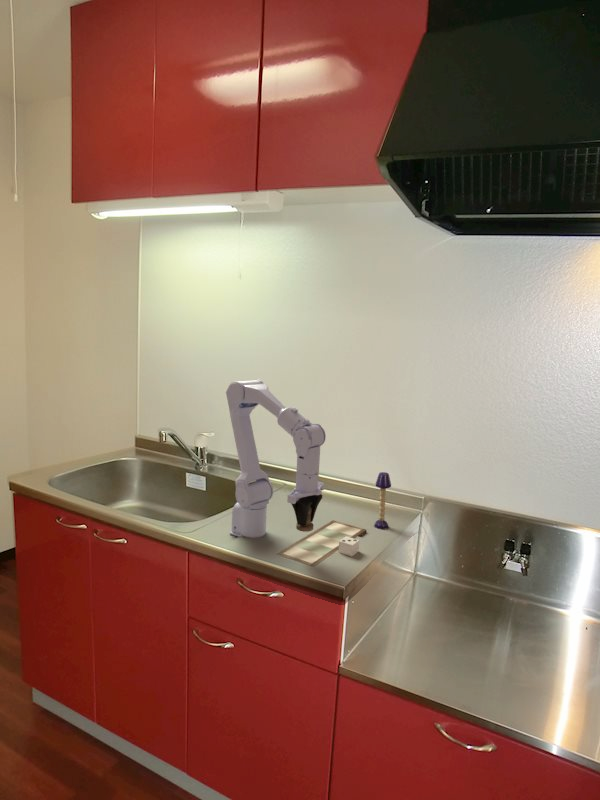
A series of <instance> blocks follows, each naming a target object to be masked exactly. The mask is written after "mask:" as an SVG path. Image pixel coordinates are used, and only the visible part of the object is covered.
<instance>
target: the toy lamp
mask: <svg viewBox="0 0 600 800" xmlns="http://www.w3.org/2000/svg"><path fill="white" fill-rule="evenodd" d="M375 487H377V488H379V490H380V492H379V508H378V509H379V511H378V515H379V517H378V519H377V520H376V521H375V522H374V525H373V526H374V528H376V527H377V529H379V528H381V529H380V530H385V528H386V529H388V528H389V524H388V522H387V521H386V520H385V516H386V512H385V510H386V506H385V505H386V502H385V501H386V490H387V489H389V488H391V487H392V483H391V478H390V474H389V473H388V472H385V471H384V472H383V471H381V472H379V473H378V476H377V478H376V481H375Z"/></svg>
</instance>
